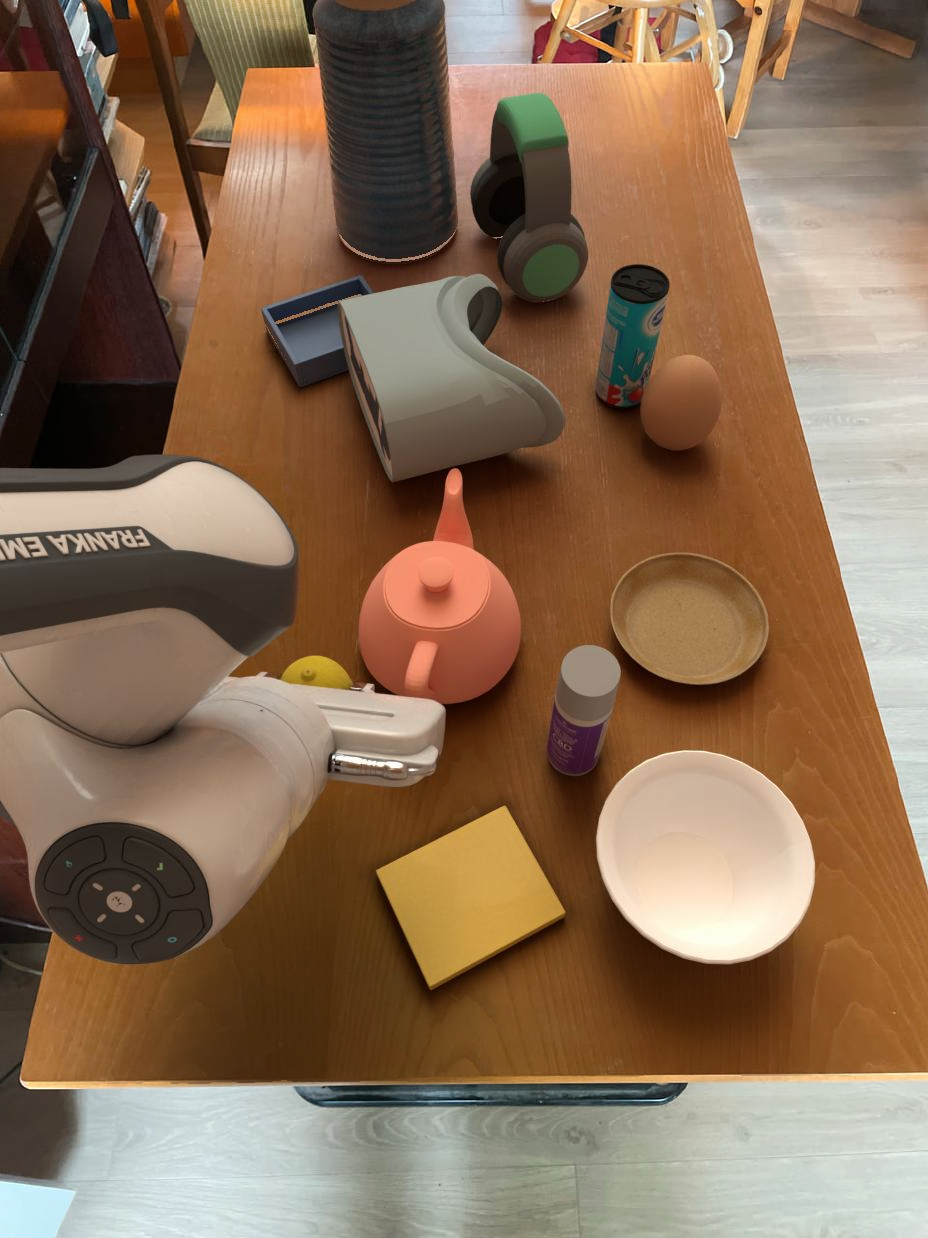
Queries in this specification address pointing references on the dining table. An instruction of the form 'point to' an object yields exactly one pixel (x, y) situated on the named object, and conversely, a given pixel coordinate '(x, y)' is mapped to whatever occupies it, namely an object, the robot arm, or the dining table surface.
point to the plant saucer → (689, 618)
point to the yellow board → (469, 896)
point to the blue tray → (312, 330)
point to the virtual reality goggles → (440, 377)
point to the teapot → (440, 615)
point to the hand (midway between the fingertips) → (317, 687)
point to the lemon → (317, 673)
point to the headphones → (530, 200)
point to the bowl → (705, 857)
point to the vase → (388, 124)
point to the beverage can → (630, 334)
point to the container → (582, 709)
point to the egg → (681, 403)
